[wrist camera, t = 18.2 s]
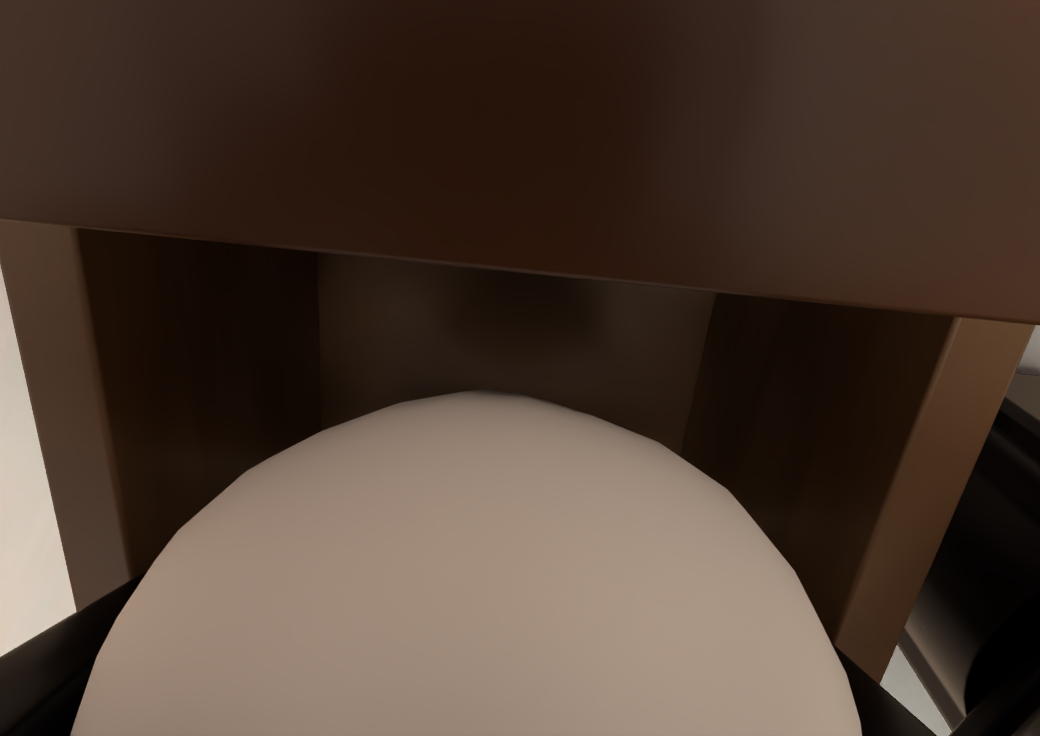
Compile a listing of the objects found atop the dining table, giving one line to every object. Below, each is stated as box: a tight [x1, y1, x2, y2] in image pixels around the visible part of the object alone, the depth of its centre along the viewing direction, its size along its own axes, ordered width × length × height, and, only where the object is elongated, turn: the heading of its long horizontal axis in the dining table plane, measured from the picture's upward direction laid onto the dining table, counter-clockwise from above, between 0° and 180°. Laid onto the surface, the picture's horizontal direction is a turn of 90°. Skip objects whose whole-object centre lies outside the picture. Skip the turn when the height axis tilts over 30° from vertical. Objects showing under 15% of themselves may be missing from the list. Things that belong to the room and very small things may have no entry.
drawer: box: [0, 220, 1035, 684], centre depth 12 cm, size 18×11×9 cm, turn 174°
